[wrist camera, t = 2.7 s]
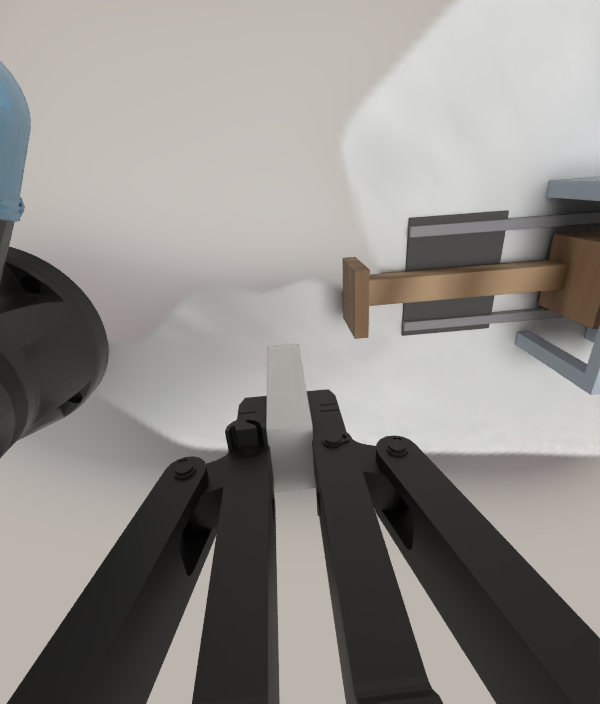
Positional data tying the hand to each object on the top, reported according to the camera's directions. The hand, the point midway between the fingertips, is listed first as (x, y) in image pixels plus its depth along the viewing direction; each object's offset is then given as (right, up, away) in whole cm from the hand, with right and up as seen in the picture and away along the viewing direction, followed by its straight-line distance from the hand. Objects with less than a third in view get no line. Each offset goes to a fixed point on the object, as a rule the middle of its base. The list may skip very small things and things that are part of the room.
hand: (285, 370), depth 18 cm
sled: (+16, +7, +13) cm, 22 cm away
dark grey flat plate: (+14, +7, +13) cm, 20 cm away
